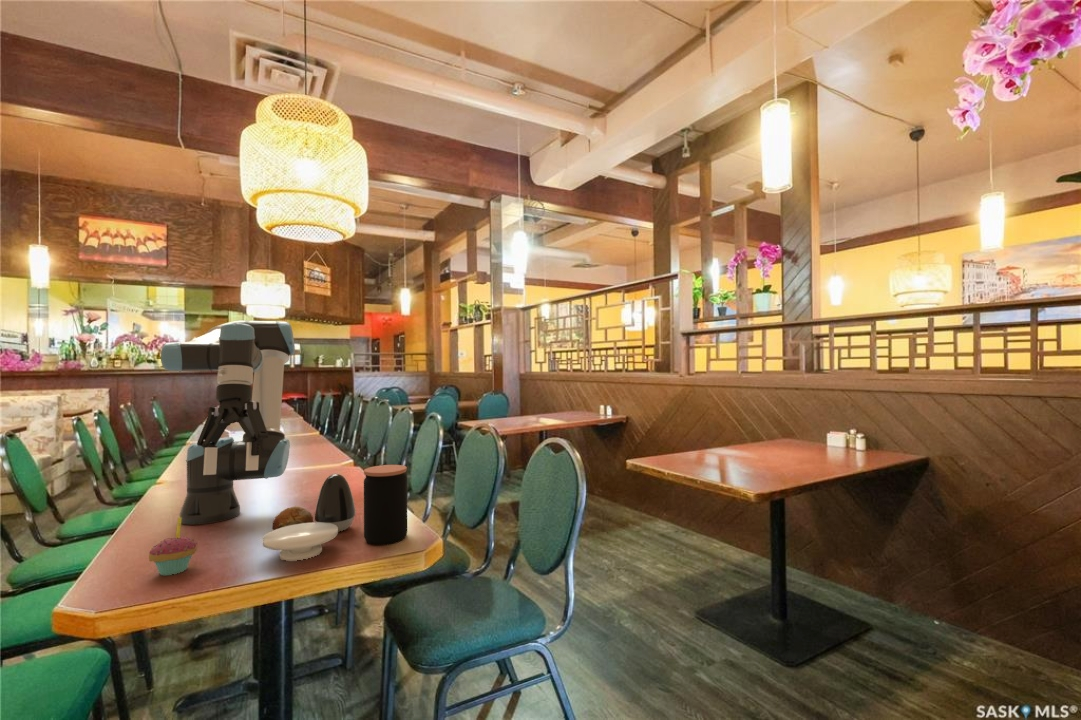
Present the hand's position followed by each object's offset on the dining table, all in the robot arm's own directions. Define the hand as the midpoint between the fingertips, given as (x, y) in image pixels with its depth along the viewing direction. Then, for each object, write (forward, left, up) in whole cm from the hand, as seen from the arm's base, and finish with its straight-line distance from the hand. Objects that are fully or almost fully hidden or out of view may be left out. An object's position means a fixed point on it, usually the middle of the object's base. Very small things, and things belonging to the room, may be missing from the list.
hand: (230, 472), depth 117 cm
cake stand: (+12, +12, -19) cm, 26 cm away
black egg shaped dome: (0, +25, -20) cm, 32 cm away
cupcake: (+2, -11, -20) cm, 23 cm away
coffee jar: (+17, +31, -20) cm, 40 cm away
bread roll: (-9, +17, -20) cm, 27 cm away
